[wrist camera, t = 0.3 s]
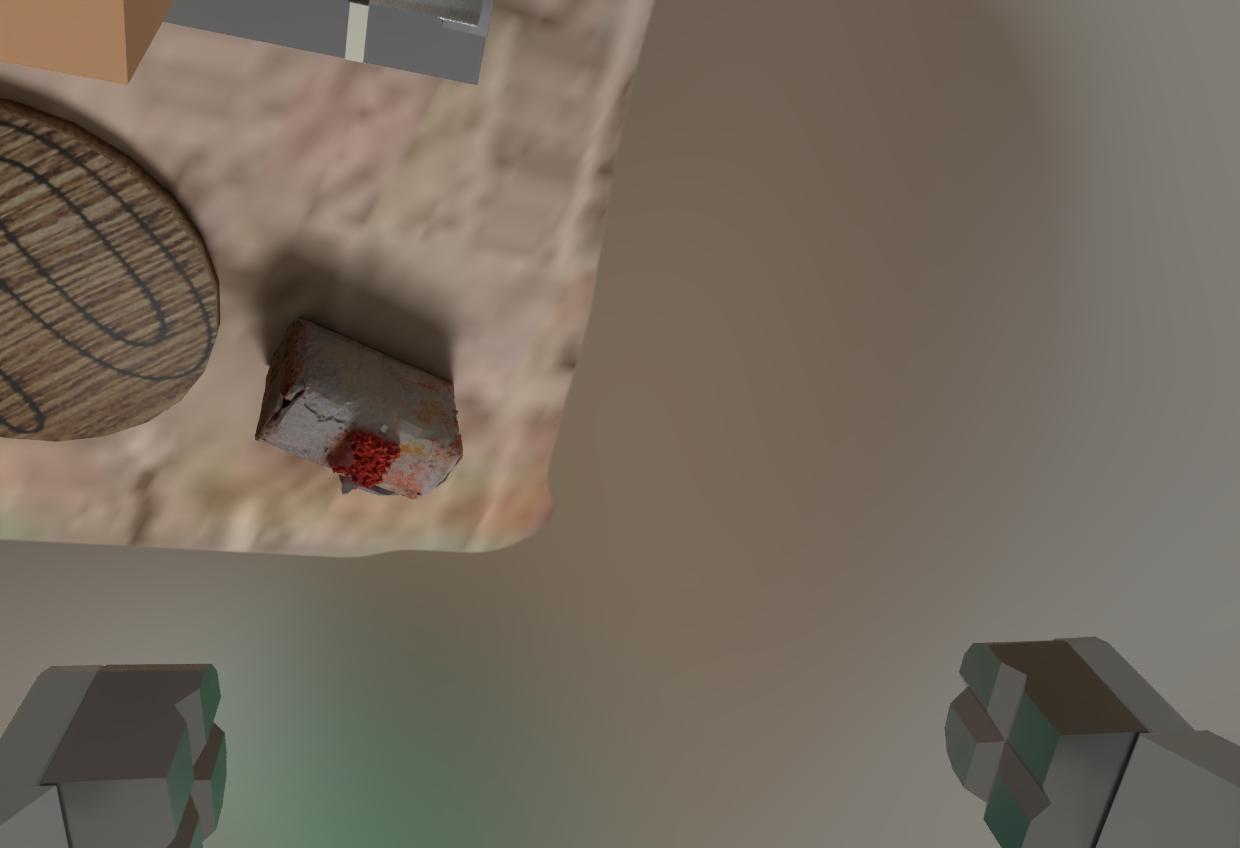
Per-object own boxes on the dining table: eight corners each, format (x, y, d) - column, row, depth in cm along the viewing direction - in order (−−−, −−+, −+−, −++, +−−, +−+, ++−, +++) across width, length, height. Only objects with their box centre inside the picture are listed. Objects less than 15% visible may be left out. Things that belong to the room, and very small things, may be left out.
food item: (475, 378, 73) (481, 470, 65) (422, 447, 76) (422, 540, 69) (302, 301, 66) (287, 393, 59) (253, 380, 70) (234, 475, 63)
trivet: (14, 470, 72) (6, 488, 71) (-336, 207, 56) (-355, 223, 54) (299, 335, 68) (296, 351, 67) (11, 7, 52) (0, 20, 50)
